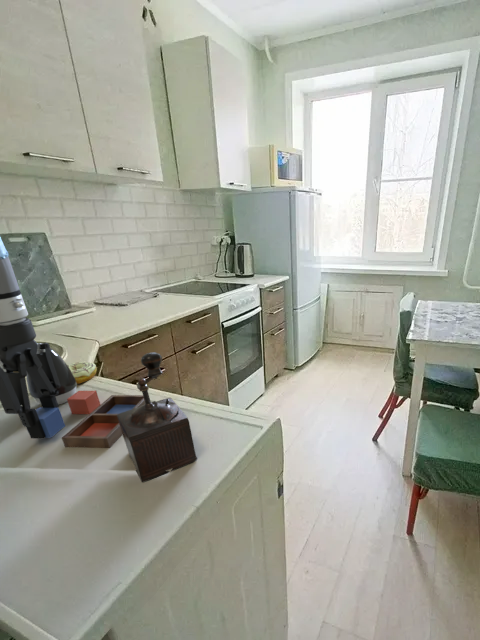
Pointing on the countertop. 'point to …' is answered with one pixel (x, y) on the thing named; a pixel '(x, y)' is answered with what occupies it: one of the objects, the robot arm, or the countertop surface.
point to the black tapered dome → (64, 377)
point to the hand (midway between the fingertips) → (47, 430)
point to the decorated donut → (83, 371)
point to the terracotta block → (83, 402)
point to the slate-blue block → (50, 420)
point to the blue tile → (120, 409)
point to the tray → (100, 424)
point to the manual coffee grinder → (156, 430)
